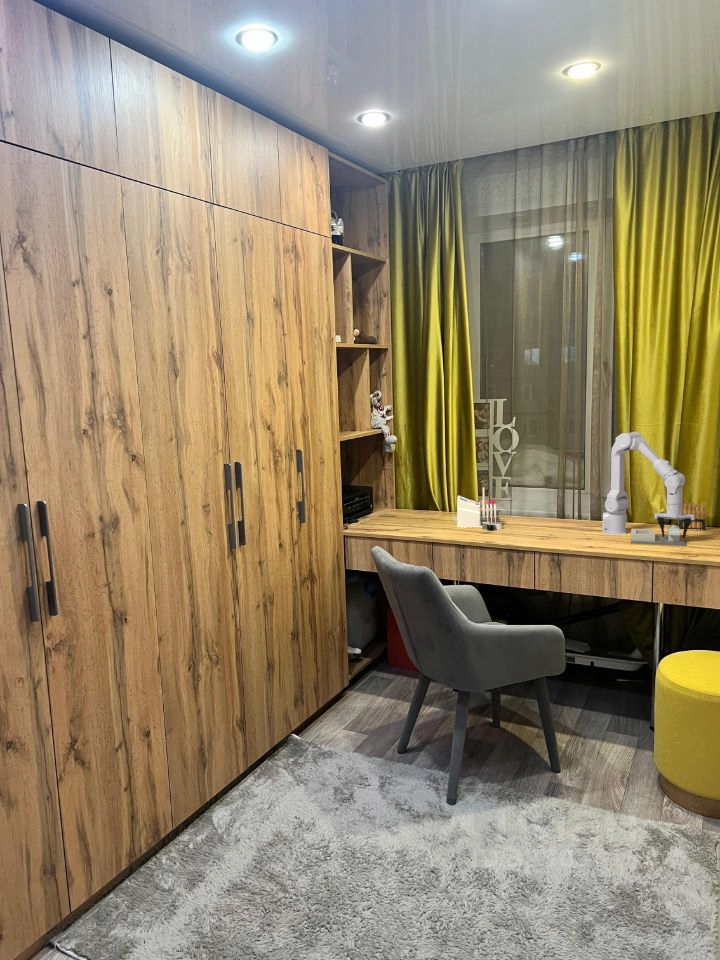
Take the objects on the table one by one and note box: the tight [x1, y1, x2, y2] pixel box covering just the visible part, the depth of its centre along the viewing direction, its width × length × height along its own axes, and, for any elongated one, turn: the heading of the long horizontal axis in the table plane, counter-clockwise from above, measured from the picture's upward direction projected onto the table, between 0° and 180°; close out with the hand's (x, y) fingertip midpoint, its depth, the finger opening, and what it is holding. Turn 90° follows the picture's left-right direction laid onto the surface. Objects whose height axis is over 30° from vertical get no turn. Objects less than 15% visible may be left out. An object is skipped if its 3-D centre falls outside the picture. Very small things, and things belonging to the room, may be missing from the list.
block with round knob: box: [667, 524, 681, 541], centre depth 277 cm, size 4×10×5 cm, turn 158°
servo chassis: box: [630, 528, 686, 547], centre depth 280 cm, size 20×16×4 cm
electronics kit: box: [452, 487, 503, 532], centre depth 330 cm, size 45×26×16 cm, turn 170°
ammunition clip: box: [677, 502, 707, 531], centre depth 296 cm, size 11×2×12 cm, turn 69°
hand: (673, 536), depth 278 cm, fingers open, 7 cm apart
